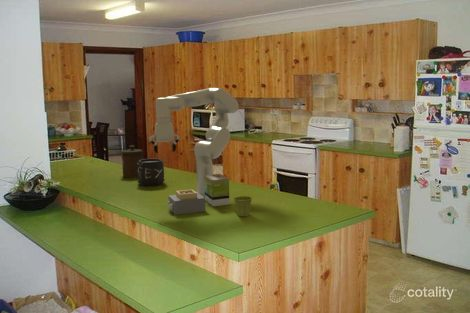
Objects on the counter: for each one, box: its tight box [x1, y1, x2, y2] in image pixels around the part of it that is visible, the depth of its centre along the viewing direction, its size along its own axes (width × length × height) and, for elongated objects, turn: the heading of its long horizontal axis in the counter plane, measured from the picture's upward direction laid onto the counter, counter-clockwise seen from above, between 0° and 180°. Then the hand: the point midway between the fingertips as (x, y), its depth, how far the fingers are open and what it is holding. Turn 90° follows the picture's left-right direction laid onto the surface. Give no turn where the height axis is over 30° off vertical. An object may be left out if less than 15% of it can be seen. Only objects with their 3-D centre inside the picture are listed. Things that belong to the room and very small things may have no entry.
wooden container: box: [121, 144, 144, 178], centre depth 359 cm, size 15×15×22 cm
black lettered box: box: [137, 158, 165, 188], centre depth 328 cm, size 18×18×16 cm
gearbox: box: [166, 189, 206, 216], centre depth 261 cm, size 18×14×10 cm
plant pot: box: [233, 195, 253, 217], centre depth 248 cm, size 9×9×9 cm
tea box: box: [204, 173, 231, 207], centre depth 275 cm, size 15×10×15 cm, turn 21°
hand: (165, 152), depth 274 cm, fingers open, 9 cm apart
